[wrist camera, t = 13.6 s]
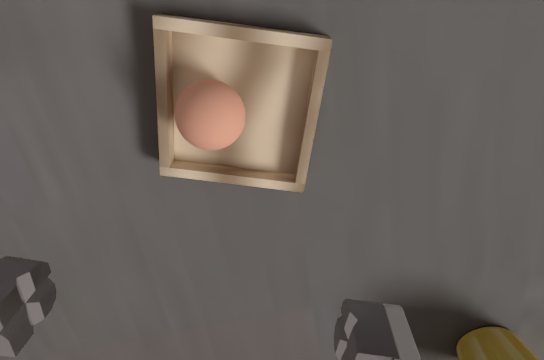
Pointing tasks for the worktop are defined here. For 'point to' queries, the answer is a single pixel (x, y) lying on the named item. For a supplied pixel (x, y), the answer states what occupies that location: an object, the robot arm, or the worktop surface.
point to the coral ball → (210, 114)
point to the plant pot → (492, 345)
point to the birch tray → (242, 98)
